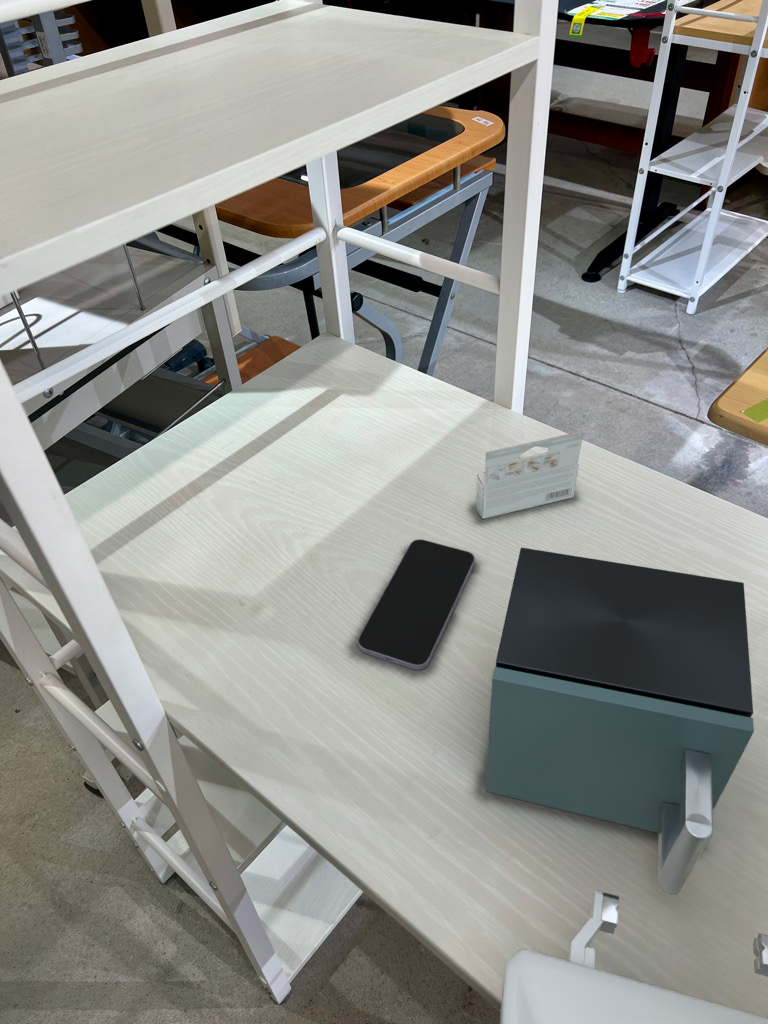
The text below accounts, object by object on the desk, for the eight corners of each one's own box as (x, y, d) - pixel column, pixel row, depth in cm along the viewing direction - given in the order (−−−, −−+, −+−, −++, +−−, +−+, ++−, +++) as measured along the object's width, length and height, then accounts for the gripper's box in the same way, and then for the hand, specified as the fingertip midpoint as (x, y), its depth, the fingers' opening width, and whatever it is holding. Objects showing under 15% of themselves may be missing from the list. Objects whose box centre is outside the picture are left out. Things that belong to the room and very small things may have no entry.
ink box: (474, 507, 84) (476, 439, 78) (565, 486, 86) (575, 417, 79) (481, 521, 83) (484, 453, 76) (575, 499, 84) (585, 430, 78)
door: (697, 923, 52) (760, 823, 41) (470, 863, 56) (474, 757, 45) (696, 829, 57) (753, 717, 46) (487, 779, 60) (494, 666, 50)
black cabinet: (695, 827, 57) (753, 713, 46) (487, 778, 61) (495, 661, 50) (694, 705, 64) (744, 582, 54) (509, 668, 68) (520, 546, 57)
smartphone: (353, 645, 70) (413, 536, 80) (354, 652, 71) (413, 543, 81) (424, 668, 68) (478, 553, 77) (425, 675, 69) (478, 561, 78)
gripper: (966, 1306, 31) (899, 949, 40) (479, 1134, 36) (522, 852, 46) (903, 1306, 35) (857, 983, 45) (476, 1152, 40) (516, 892, 50)
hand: (685, 916), depth 45 cm, fingers open, 8 cm apart
